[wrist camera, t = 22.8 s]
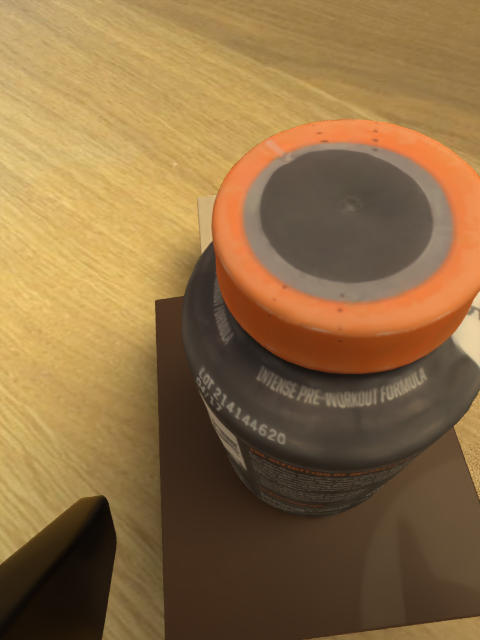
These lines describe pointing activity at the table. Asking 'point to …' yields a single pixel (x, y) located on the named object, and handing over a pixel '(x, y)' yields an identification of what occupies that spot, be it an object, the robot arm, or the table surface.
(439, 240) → the pill bottle
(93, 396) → the table surface
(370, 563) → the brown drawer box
